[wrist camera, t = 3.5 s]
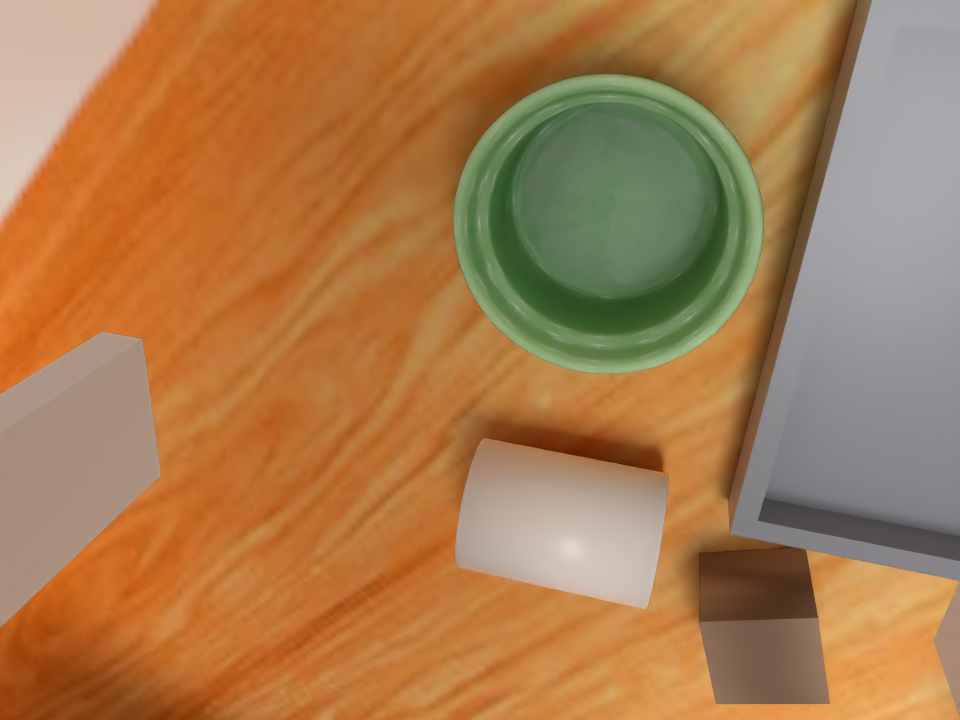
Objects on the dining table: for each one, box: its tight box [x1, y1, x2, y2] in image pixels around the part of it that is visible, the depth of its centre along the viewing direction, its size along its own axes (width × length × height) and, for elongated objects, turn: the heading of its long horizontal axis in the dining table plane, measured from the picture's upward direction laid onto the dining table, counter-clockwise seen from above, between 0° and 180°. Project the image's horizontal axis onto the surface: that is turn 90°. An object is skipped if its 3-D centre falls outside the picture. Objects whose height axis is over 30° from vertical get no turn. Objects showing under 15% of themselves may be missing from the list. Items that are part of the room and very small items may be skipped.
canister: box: [455, 438, 669, 610], centre depth 30 cm, size 7×5×5 cm
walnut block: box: [699, 547, 830, 704], centre depth 31 cm, size 4×4×4 cm
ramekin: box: [453, 74, 764, 374], centre depth 25 cm, size 9×9×4 cm
